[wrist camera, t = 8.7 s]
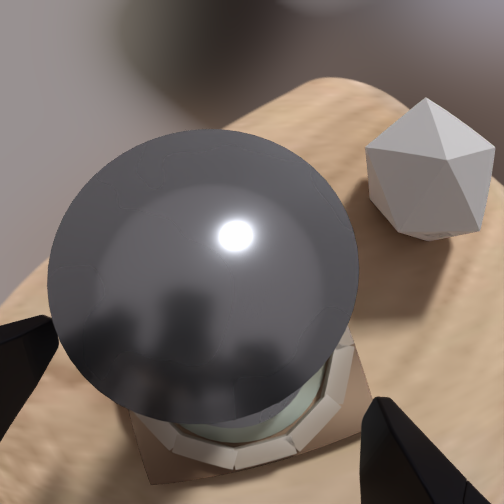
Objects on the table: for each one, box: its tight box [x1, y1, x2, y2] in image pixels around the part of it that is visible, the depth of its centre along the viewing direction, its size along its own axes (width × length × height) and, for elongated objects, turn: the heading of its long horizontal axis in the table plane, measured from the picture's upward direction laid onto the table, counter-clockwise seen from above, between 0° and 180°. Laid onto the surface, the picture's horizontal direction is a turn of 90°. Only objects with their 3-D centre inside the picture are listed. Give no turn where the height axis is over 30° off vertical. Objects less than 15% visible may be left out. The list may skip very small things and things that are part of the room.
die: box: [365, 98, 495, 241], centre depth 17 cm, size 8×9×10 cm
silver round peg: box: [47, 129, 359, 428], centre depth 10 cm, size 7×7×12 cm
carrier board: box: [128, 325, 373, 485], centre depth 15 cm, size 12×12×2 cm
